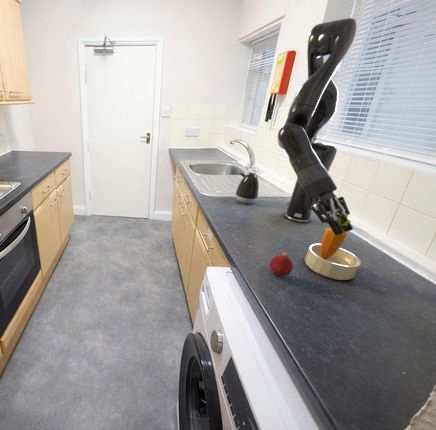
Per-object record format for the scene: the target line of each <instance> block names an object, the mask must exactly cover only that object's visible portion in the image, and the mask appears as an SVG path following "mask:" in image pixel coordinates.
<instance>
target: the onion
mask: <svg viewBox="0 0 436 430" xmlns="http://www.w3.org/2000/svg"><path fill="white" fill-rule="evenodd" d="M269 268H270V271H271V272H272V273H273V274H274V275H276V276H277V277H284V276H288V275H289V274H290V273H292V271H293V268H294V264H293V261H292V260H291V258H290V257H289V256H288V253H287V252H283V253H282V254H278V255H276V256H274V257H272V258H271V259H270V262H269Z"/></svg>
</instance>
